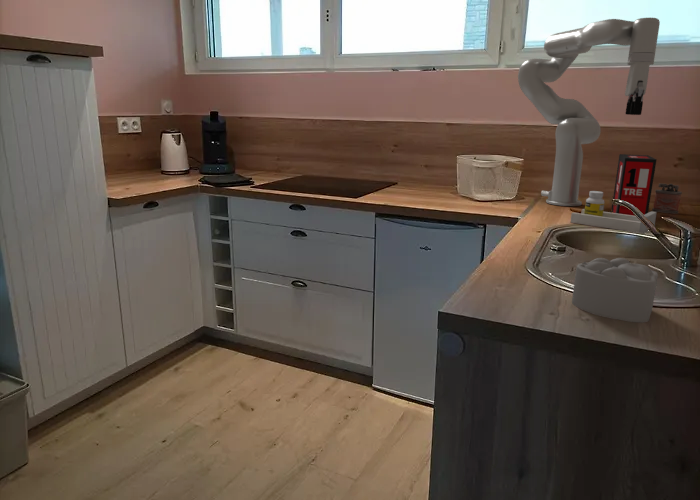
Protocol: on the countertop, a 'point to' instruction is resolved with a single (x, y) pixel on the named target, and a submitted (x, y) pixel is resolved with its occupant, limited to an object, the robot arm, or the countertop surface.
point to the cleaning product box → (634, 182)
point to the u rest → (614, 221)
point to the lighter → (667, 199)
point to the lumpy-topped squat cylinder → (615, 289)
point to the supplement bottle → (594, 204)
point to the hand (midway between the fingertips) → (632, 114)
